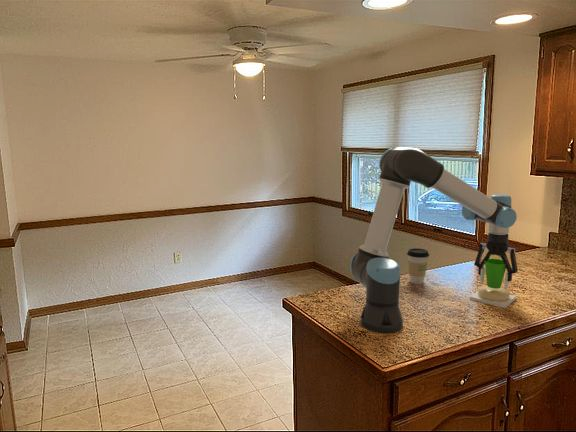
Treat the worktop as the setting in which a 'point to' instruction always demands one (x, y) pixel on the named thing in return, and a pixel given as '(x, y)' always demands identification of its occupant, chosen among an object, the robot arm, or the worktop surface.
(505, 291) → the domed square tile
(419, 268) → the coffee cup
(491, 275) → the cup
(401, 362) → the worktop surface
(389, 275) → the robot arm
